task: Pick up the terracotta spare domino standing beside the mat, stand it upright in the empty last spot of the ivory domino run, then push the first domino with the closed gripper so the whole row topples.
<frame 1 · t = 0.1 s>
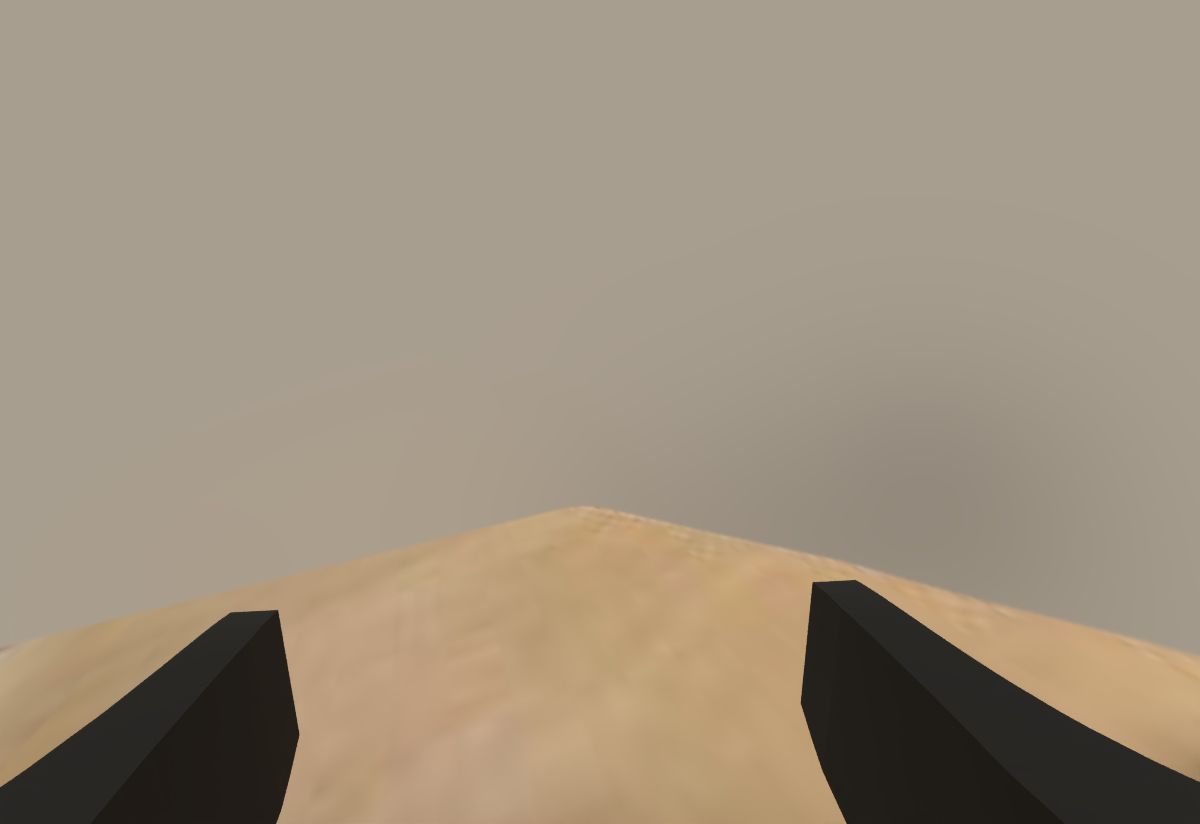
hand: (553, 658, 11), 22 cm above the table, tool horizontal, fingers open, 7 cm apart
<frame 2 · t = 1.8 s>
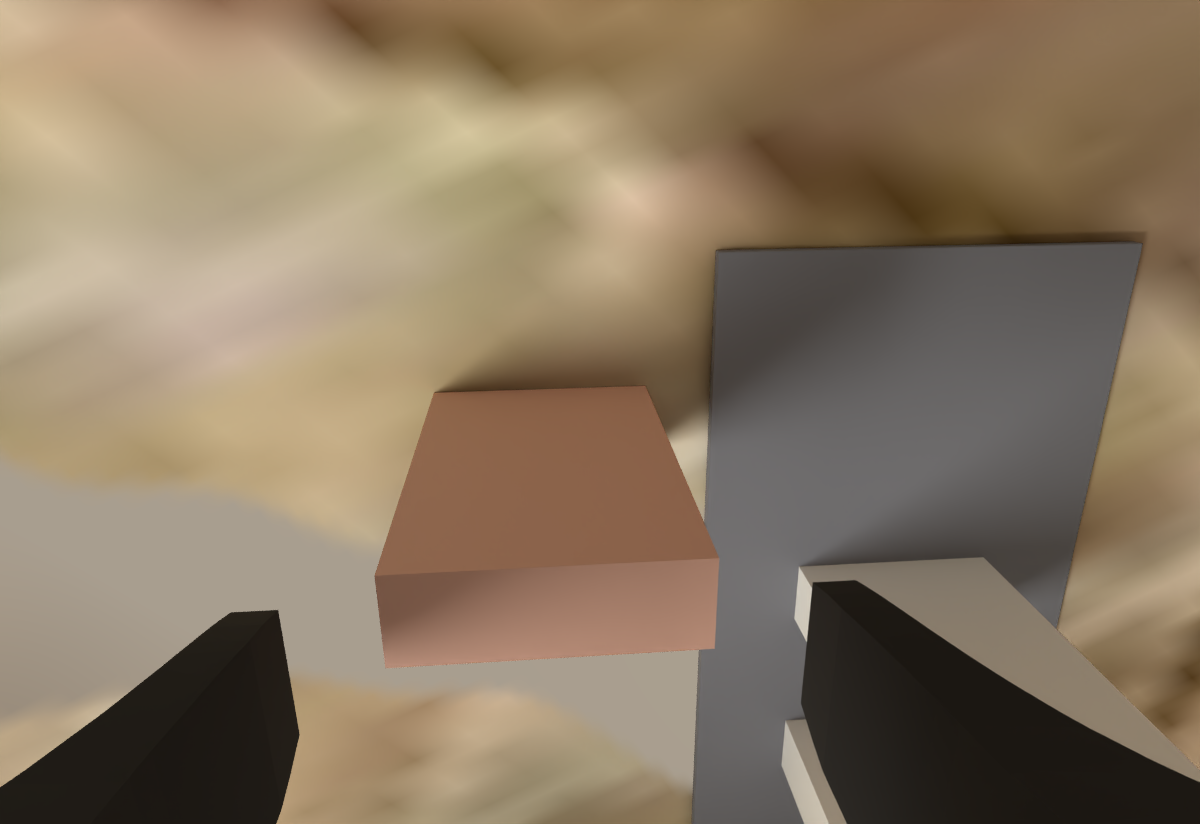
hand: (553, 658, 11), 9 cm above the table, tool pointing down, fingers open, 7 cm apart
mat: (864, 729, 24), on the table
domino 3: (868, 737, 23), resting on mat
domino 4: (888, 588, 22), resting on mat
domino 5: (541, 420, 20), on the table
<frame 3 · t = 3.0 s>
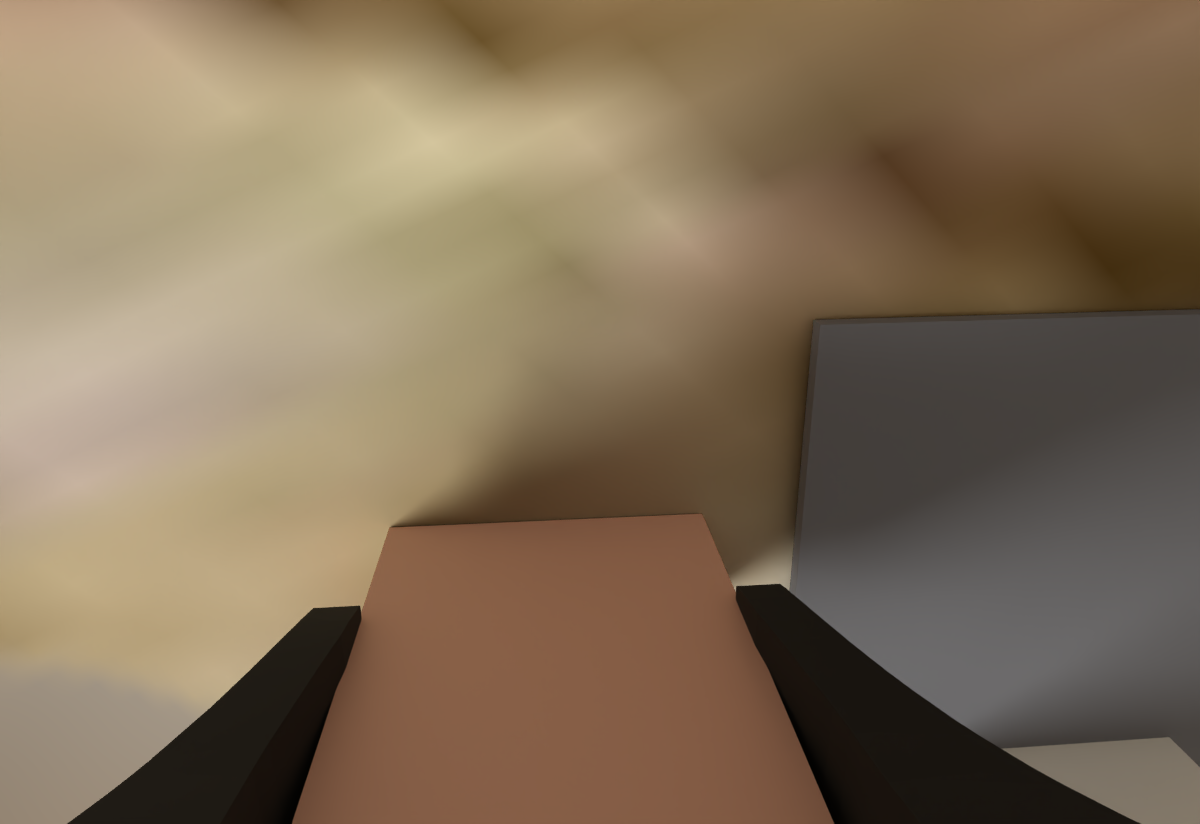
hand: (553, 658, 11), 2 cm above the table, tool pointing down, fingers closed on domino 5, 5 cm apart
domino 4: (1034, 779, 15), resting on mat
domino 5: (549, 563, 13), on the table, touching gripper
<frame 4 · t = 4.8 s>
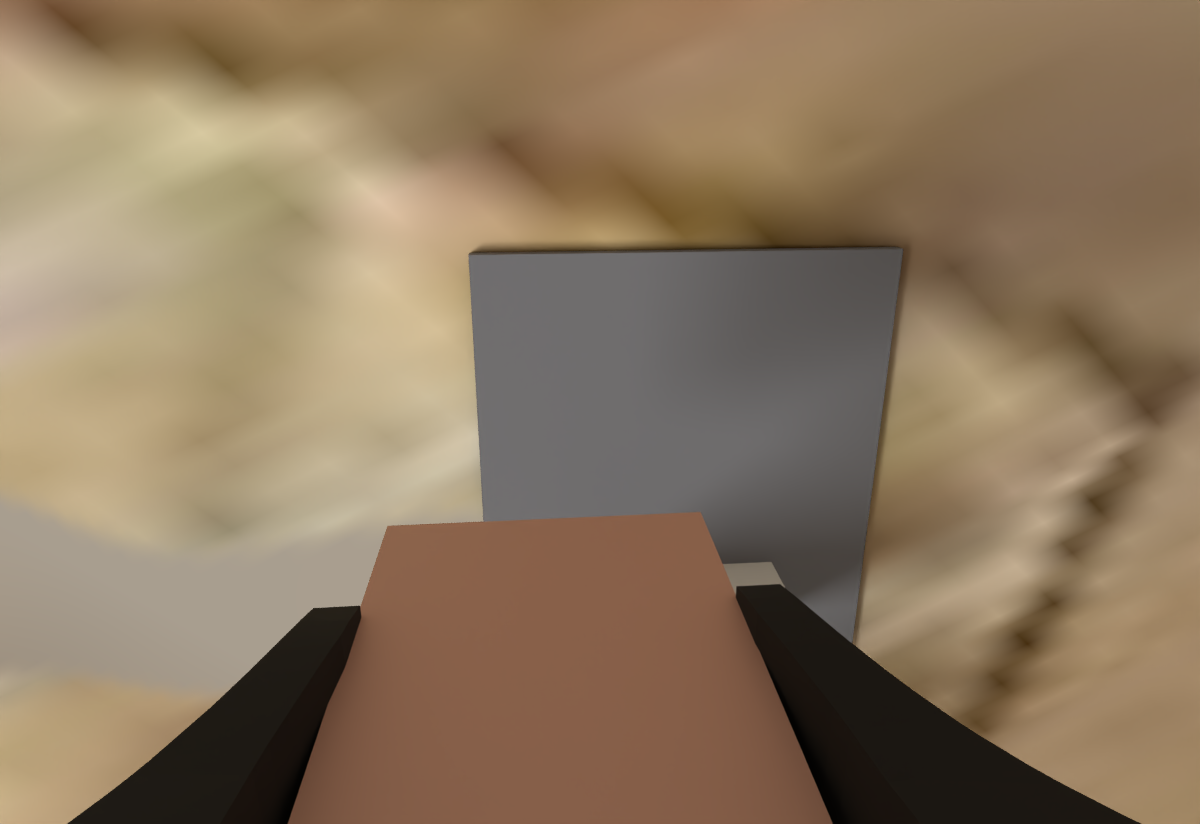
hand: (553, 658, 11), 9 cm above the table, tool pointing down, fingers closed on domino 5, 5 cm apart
mat: (669, 734, 24), on the table
domino 4: (676, 592, 22), resting on mat
domino 5: (547, 562, 13), point 7 cm above the table, touching gripper
when the fingers open (4 cm above the table, at t = 7.0 s): domino 5 stays where it is, resting on mat.
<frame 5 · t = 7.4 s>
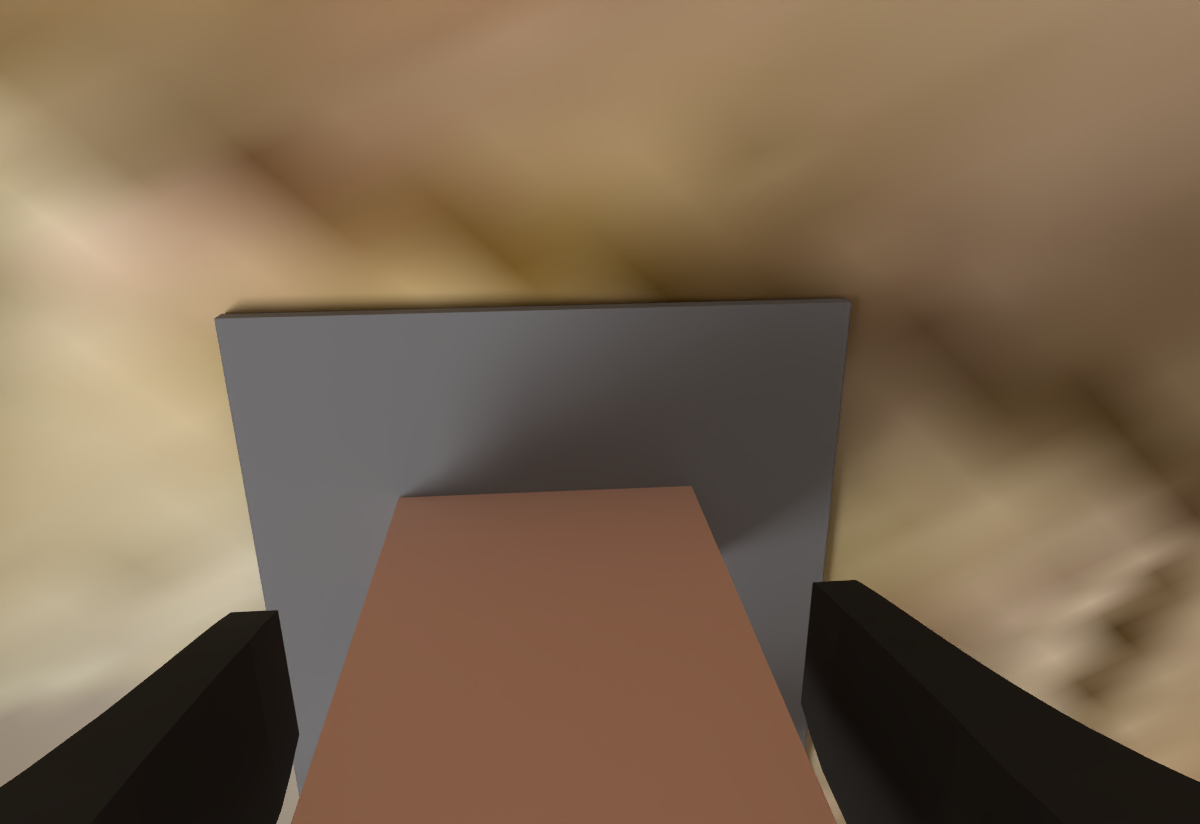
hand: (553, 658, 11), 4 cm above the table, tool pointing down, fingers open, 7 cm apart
domino 5: (548, 532, 14), resting on mat
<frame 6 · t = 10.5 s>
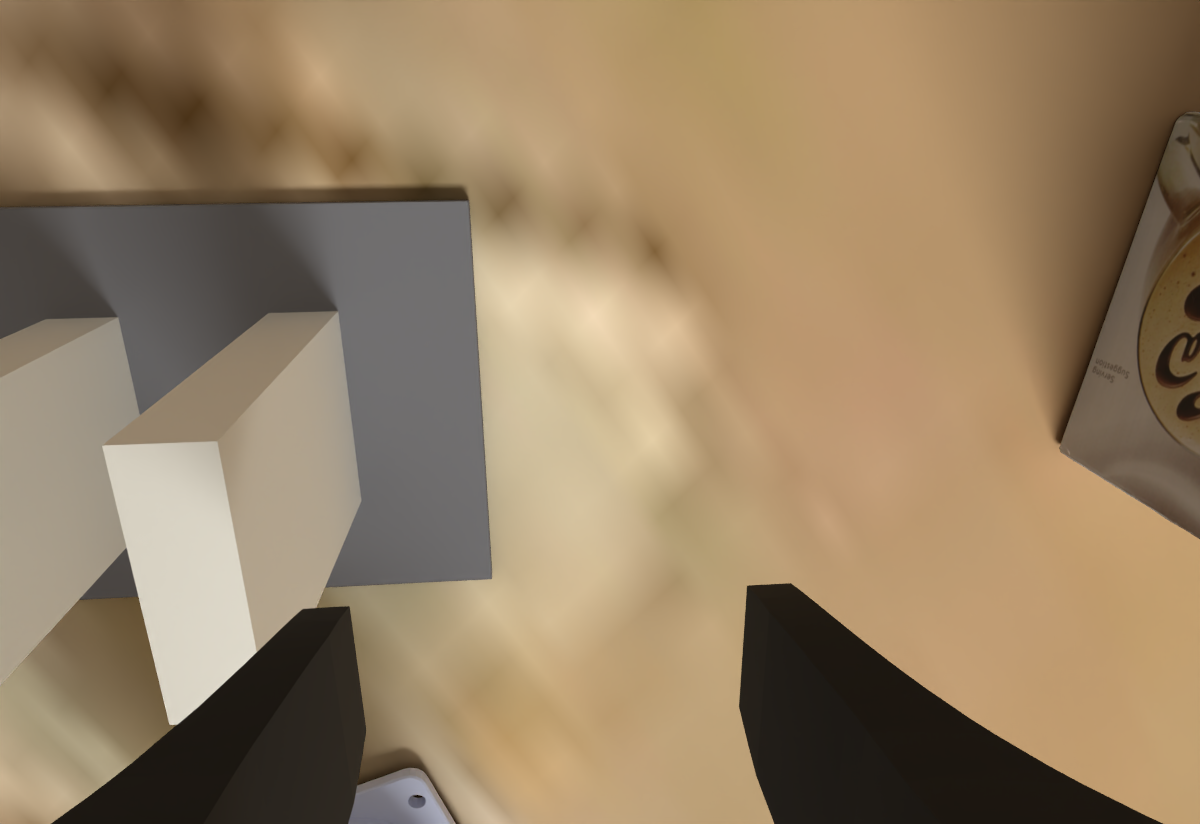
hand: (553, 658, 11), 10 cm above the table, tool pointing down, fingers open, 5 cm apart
domino 1: (317, 411, 20), resting on mat
domino 2: (106, 419, 20), resting on mat
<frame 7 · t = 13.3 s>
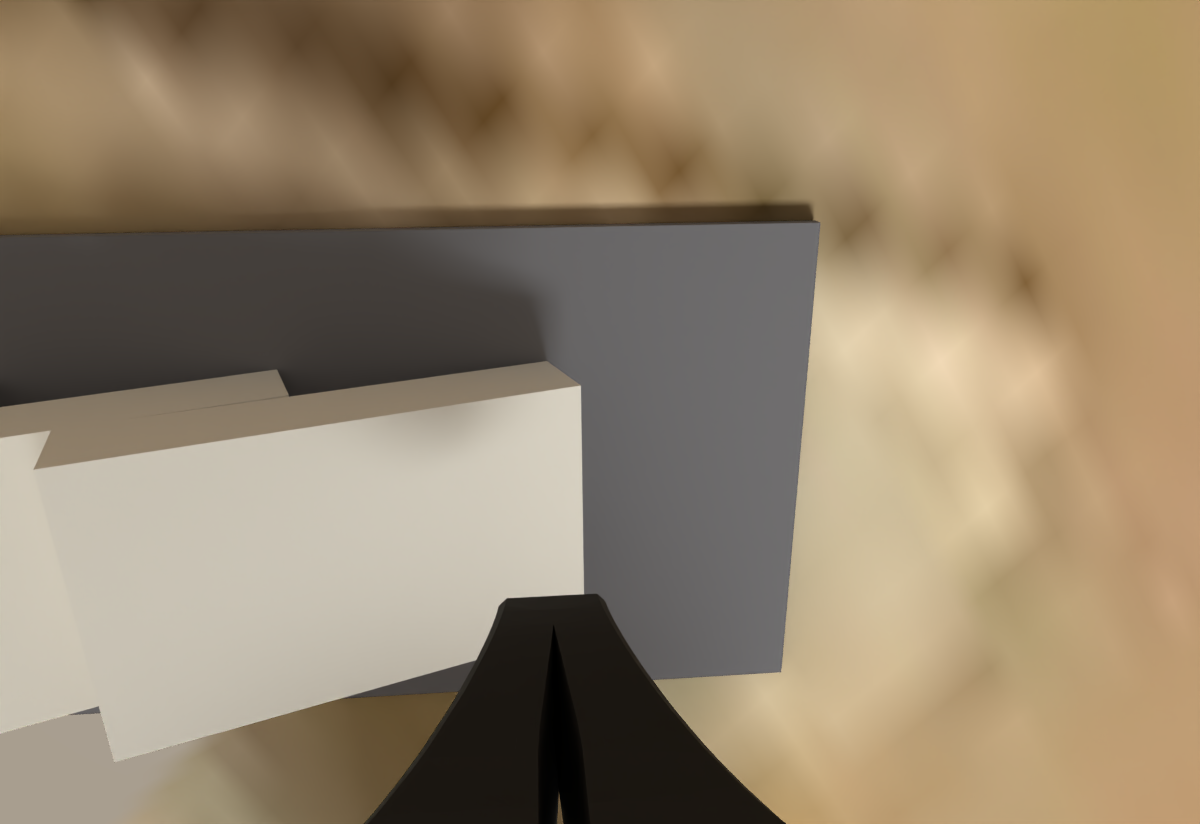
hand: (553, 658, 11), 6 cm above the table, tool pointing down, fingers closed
domino 1: (565, 496, 16), point 1 cm above the table, tilted 70°, touching mat
mat: (92, 493, 16), on the table
domino 2: (301, 508, 15), point 1 cm above the table, tilted 68°, touching mat
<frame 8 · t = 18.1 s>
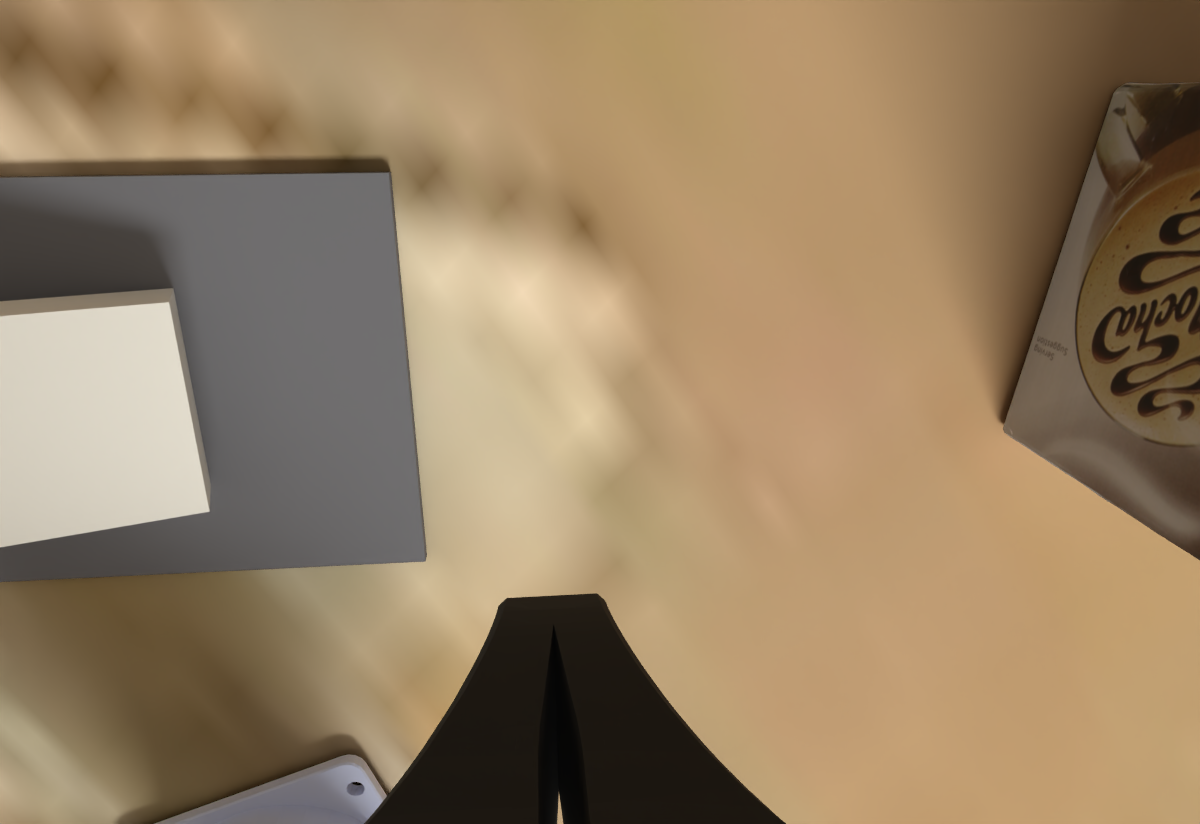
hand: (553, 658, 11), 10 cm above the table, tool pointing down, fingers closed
domino 1: (191, 400, 19), point 1 cm above the table, tilted 71°, touching domino 2, mat
coffee box: (1155, 280, 21), on the table
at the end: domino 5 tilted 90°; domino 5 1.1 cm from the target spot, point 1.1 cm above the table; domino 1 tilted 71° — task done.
